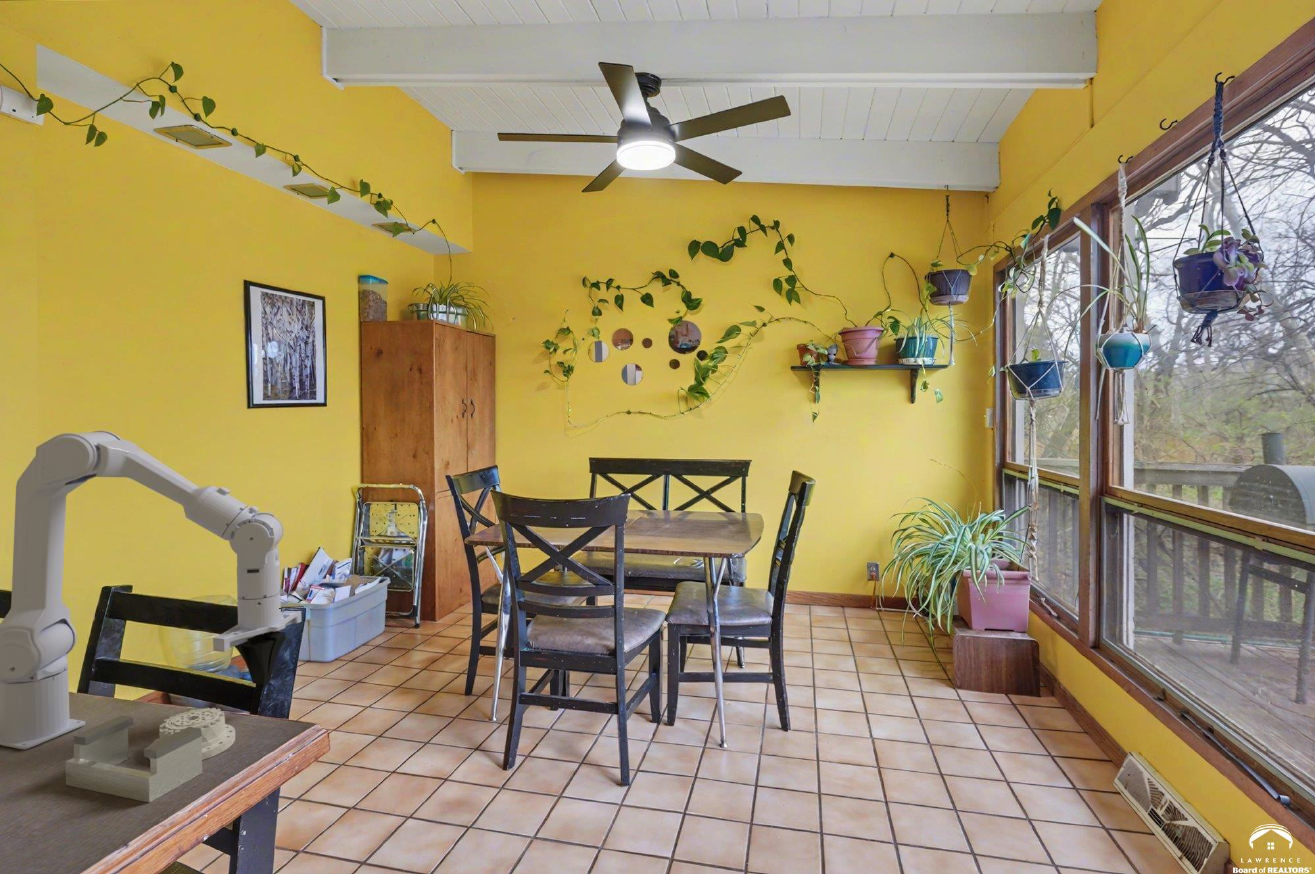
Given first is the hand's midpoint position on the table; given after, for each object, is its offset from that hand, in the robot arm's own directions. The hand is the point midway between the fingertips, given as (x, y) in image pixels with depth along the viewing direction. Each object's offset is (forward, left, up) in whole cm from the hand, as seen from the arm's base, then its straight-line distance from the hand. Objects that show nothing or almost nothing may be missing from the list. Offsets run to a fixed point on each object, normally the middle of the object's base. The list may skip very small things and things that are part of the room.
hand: (261, 682), depth 107 cm
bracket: (0, -20, -5) cm, 20 cm away
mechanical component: (0, -11, -5) cm, 12 cm away
